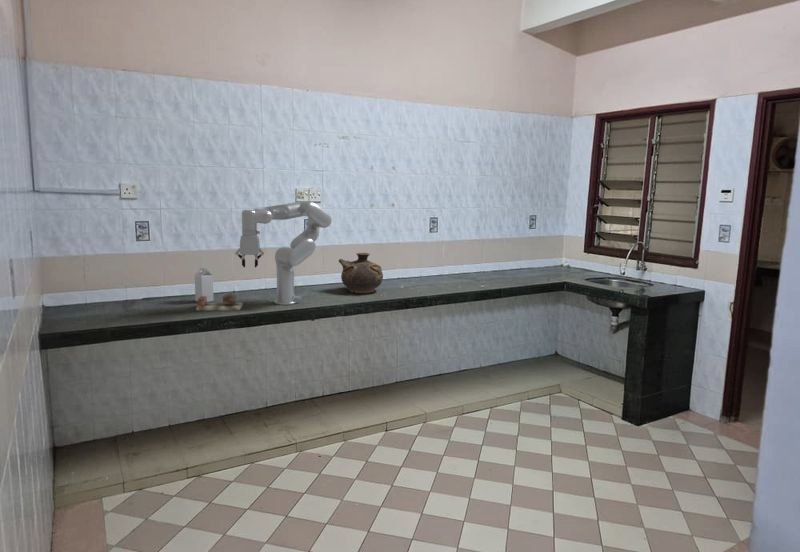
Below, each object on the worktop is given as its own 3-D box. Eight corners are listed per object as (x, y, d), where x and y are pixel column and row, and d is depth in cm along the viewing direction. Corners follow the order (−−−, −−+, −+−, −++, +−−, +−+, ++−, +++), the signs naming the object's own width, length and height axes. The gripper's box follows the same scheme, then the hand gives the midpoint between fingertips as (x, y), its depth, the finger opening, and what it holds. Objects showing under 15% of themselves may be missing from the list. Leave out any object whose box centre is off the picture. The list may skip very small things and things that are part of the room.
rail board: (242, 305, 298) (242, 295, 297) (239, 310, 287) (239, 299, 286) (200, 305, 294) (200, 295, 293) (196, 310, 283) (196, 300, 282)
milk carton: (206, 299, 310) (205, 266, 307) (213, 301, 306) (212, 268, 303) (195, 301, 305) (194, 267, 302) (202, 303, 300) (201, 269, 297)
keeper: (236, 303, 294) (235, 294, 294) (234, 305, 289) (234, 296, 288) (224, 303, 293) (224, 294, 293) (222, 305, 288) (222, 296, 287)
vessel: (331, 289, 349) (333, 251, 346) (365, 287, 368) (367, 251, 365) (357, 296, 329) (359, 255, 326) (391, 293, 348) (393, 255, 345)
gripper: (266, 232, 292) (266, 266, 295) (233, 232, 289) (234, 265, 292) (265, 234, 284) (265, 268, 287) (231, 233, 281) (232, 268, 284)
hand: (250, 266), depth 289 cm, fingers open, 5 cm apart
